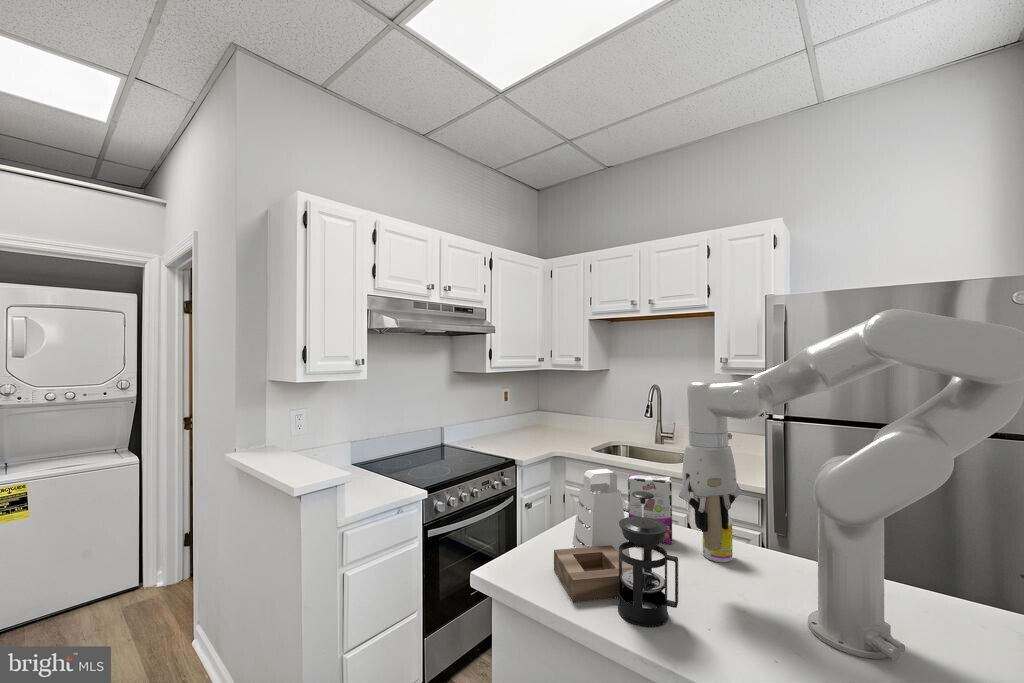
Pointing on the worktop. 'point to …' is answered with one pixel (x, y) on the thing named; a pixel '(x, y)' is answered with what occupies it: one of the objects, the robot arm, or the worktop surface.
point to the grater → (599, 513)
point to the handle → (713, 519)
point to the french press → (644, 571)
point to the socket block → (589, 572)
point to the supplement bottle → (726, 548)
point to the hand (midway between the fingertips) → (712, 527)
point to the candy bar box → (652, 500)
